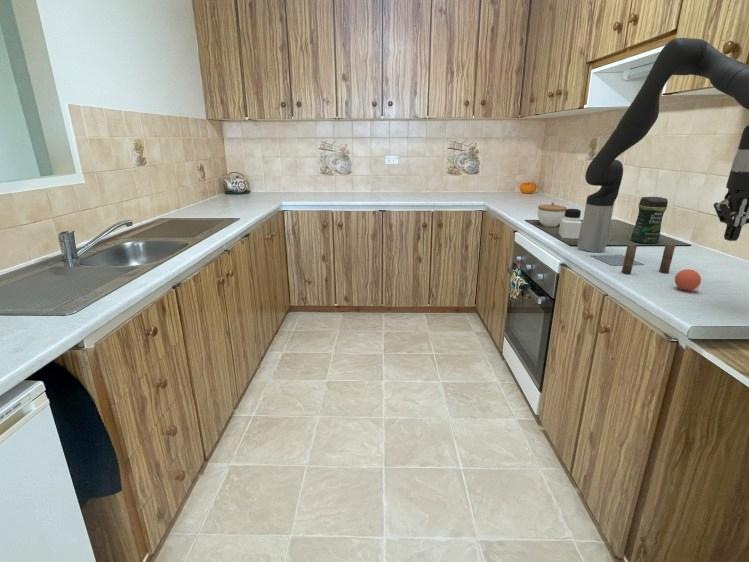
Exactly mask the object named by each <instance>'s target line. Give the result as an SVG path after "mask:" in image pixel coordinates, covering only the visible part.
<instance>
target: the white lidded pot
mask: <svg viewBox="0 0 749 562" xmlns="http://www.w3.org/2000/svg"><path fill="white" fill-rule="evenodd" d="M566 209H568V208H567V207H566V206H564V205H560V204H559V205H558V204H555V202H554V201H553V202H551V204H539V205H538V210H537V218H538V222H540V224H541V226H543V227H549V228H556V227H558V226H560V221H561V219H565V218H564V216H565V210H566Z"/></svg>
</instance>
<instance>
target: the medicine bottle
mask: <svg viewBox="0 0 749 562" xmlns="http://www.w3.org/2000/svg"><path fill="white" fill-rule="evenodd" d="M581 213H582V211H581V210H580V209H578V208H567V209H566V210H565V216H564V219H561V221H560V224H559V229H558V235H559V237H561V238H562V239H571V240H573V239H575V240H579V234H580V228H581V223H582V222H583V221H581V220H580V218H581Z"/></svg>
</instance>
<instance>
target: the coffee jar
mask: <svg viewBox="0 0 749 562" xmlns="http://www.w3.org/2000/svg"><path fill="white" fill-rule="evenodd" d="M668 202H669V201H668V198H665V197H661V196H642V197H641V198H640V201H639V203H638V214H637V218H636V221H635V224H634V227H633V230H632V233H631V236H630V239H631V241H633V242H634V241H636V242H635V243H639V242H642V243H641V244H647V243H648V244H652V243H653V244H656V243H655V242H658V243H659V242H660V241H659V240H660V237H661V236H660V235H661V230H662V222H663V217H664V214H665V211H667V208H668Z"/></svg>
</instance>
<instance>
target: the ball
mask: <svg viewBox="0 0 749 562" xmlns="http://www.w3.org/2000/svg"><path fill="white" fill-rule="evenodd" d="M701 282H702V277H701V275H700V274H699V273H698V271H696V270H694V269H689V268H688V269H687V268H686V269H682V270H680V271H679V272H677V273H676V274H675V277H674V283H675V285H676V286H677V288H679V289H680V290H682V291H683V290H684V291H693V290H695V289H697V288H698V287H699V286H700V285H701Z"/></svg>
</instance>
